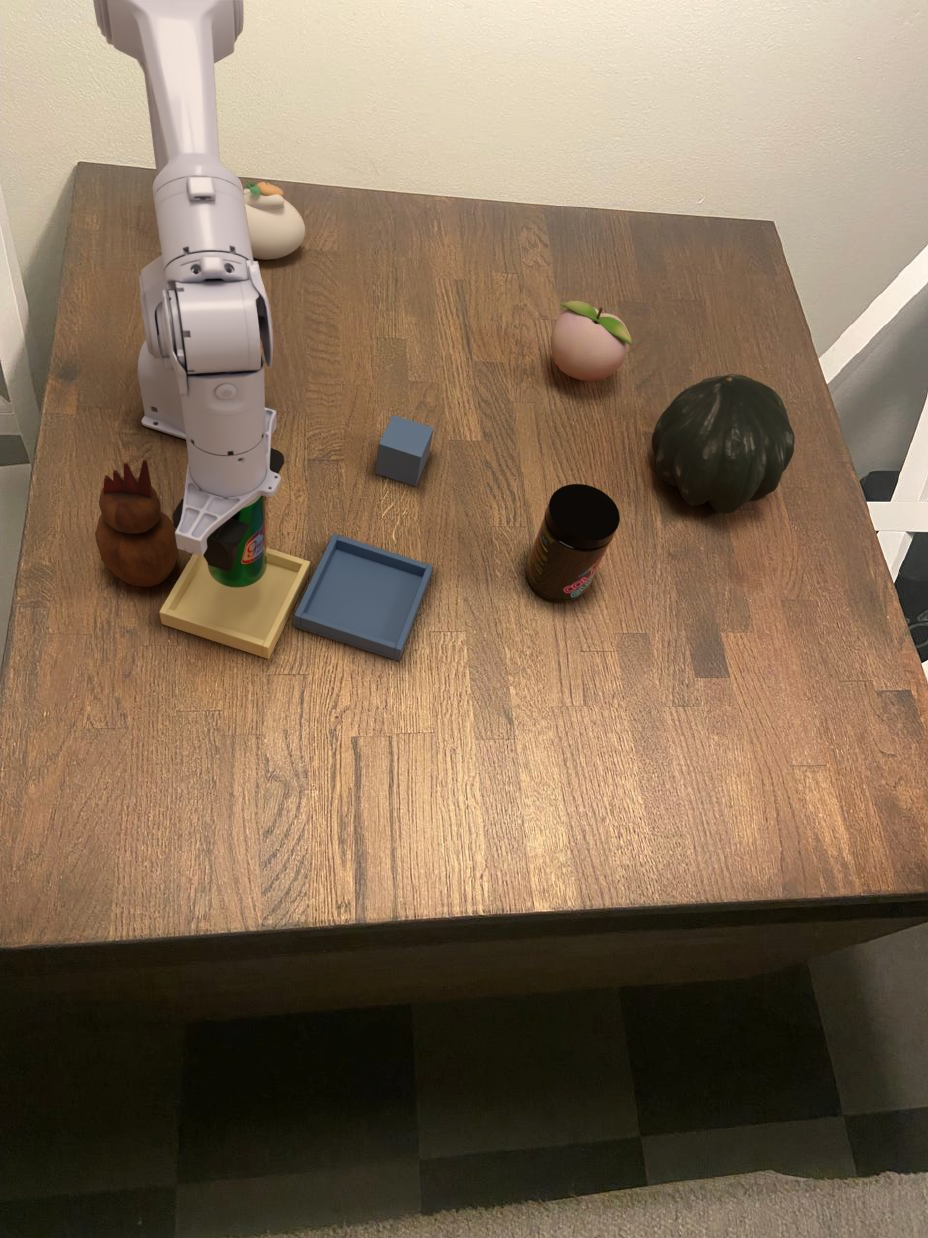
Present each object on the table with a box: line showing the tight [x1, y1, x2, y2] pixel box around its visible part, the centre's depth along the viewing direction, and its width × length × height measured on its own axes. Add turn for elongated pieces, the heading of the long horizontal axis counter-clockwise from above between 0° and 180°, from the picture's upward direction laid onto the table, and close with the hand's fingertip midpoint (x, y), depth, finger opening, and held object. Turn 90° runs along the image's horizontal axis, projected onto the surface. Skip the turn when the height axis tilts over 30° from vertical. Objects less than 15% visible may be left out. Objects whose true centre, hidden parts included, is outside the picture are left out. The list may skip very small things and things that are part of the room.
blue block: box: [375, 414, 434, 487], centre depth 95 cm, size 4×4×4 cm
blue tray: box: [293, 533, 434, 662], centre depth 86 cm, size 10×10×2 cm
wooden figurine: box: [94, 459, 179, 588], centre depth 79 cm, size 7×6×15 cm
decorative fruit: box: [550, 300, 633, 383], centre depth 105 cm, size 9×8×10 cm
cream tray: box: [158, 546, 311, 660], centre depth 84 cm, size 10×10×2 cm
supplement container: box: [525, 483, 621, 603], centre depth 88 cm, size 7×7×10 cm
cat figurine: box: [243, 181, 306, 261], centre depth 109 cm, size 10×8×15 cm
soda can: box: [207, 495, 267, 588], centre depth 76 cm, size 5×5×12 cm
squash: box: [651, 373, 796, 514], centre depth 99 cm, size 14×15×15 cm
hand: (234, 541), depth 78 cm, fingers closed on soda can, 5 cm apart
